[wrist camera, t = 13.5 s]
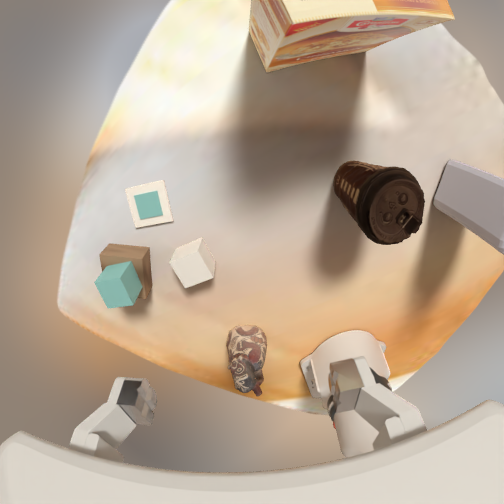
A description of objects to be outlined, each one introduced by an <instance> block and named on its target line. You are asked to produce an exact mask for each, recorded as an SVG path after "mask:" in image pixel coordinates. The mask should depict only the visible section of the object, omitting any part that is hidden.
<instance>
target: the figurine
mask: <svg viewBox="0 0 504 504" xmlns="http://www.w3.org/2000/svg"><path fill="white" fill-rule="evenodd" d="M227 349H228V354H229V365H228V369H231V373H232V376H233V379H234V383H235V388H236V389H237V390H239V391H241V392H243V393H247V392H249V391H251V390H253V391H254V393H255V394H256V396H260V395H261V394H262V391H261V389H260V386H259V385H260V384H261V383H262V382H263V381H264V378H263V374H262V367H263V365H264V361H265V356H266V349H267V340H266V336H265V334H264V332H263V331H262V329H261V328H259V327H257V326H252V325H244V326H240V325H238V326H235V327H234V328H233V329H231V330H230V331H229V334H228V339H227ZM255 378H256V379H255Z"/></svg>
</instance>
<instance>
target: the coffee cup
mask: <svg viewBox="0 0 504 504" xmlns="http://www.w3.org/2000/svg"><path fill="white" fill-rule="evenodd" d="M334 190H335V193H336V195H337V196H338V197H339V198H340V200H341V201H342V203H343V205H344V207H345V208H346V209H347V211H348V212H349V213H350V215H351V216H352V217H353V219H354V220H355V221H356V222H357V223H358V226H359V227H360V228H361V229H362V231H363V232H364V233H365V235H366V236H367V238H369V239H370V240H372V241H373V242H375V243H377V244H383V245H391V244H398V243H399V242H402V241H403V240H404V239H407V238H409V237H410V235H411V233H416V232H417V231H418V230H419V227H420V225H421V224H422V217H423V209H424V202H425V201H424V193H423V191H422V189H421V187H420V185H419V183H418V181H417V180H416V178H415V177H414V176H413V175H412V174H411V173H410V172H409V171H407V170H406V169H404V168H399V167H382V166H378V165H372V164H368V163H363V162H359V161H348V162H346V163H344V164H342V165H341V166H340V168H339V169H338V171H337V173H336V175H335V178H334Z"/></svg>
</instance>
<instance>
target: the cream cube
mask: <svg viewBox="0 0 504 504" xmlns="http://www.w3.org/2000/svg"><path fill="white" fill-rule="evenodd" d="M169 263H170V265H171V266H172V268H173V270H174V271H175V273H176V275H177V276H178V278H179V279H180V281H181V283H182V284H183V286H184V287H185V288H188V287H190V286H193V285H196V284H199V283H201V282H204V281H207V280H209V279H212V278H213V277H214V271H215V265H216V261H215V259H214V258H213V256H212V254H211V252H210V250H209V248H208V246H207V245H206V243H205V241H204V239H203V237H201V238H199V239H197V240H194V241H192V242H190V243H187V244H185V245H183V246H180V247H178V248H176V250H175V252H174V254H173V256H172V258H171V260H170V262H169Z"/></svg>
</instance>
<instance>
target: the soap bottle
mask: <svg viewBox="0 0 504 504" xmlns="http://www.w3.org/2000/svg"><path fill="white" fill-rule="evenodd" d="M433 204H434V206H435V207H436V208H437V209H438V210H440V211H441V212H443V213H445V214H446V215H448V216H449V217H451V218H452V219H454V220H456V221H457V222H459V223H460V224H462V225H463V226H465V227H466V228H468V229H469V230H470V231H472V232H473V233H475V234H476V235H478V236H479V237H480V238H482V239H483V240H484V241H486V242H487V243H489V244H490V245H491V246H493V247H494V248H495V249H496V250H498V251H499V252H501V253H502V254H504V179H502V178H500V177H498V176H495V175H493V174H490V173H488V172H486V171H483V170H480V169H478V168H475V167H473V166H470V165H467V164H464V163H461V162H459V161H456V160H449V161H448V163H447V165H446V168H445V170H444V173H443V176H442V179H441V181H440V184H439V187H438V189H437V192H436V195H435V197H434V202H433Z"/></svg>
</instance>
